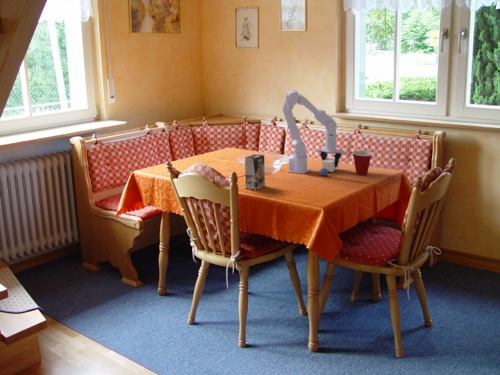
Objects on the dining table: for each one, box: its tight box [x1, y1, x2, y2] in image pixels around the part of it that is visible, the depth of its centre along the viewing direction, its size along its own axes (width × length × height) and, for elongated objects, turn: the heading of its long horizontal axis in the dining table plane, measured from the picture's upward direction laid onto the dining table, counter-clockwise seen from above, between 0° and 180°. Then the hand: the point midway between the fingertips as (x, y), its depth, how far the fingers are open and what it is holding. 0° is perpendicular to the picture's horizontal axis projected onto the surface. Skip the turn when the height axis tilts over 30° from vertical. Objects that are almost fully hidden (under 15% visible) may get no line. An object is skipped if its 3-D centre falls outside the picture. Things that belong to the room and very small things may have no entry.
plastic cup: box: [351, 150, 374, 176], centre depth 330 cm, size 11×11×12 cm
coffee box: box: [244, 153, 266, 191], centre depth 311 cm, size 9×6×16 cm
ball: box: [319, 167, 328, 177], centre depth 330 cm, size 4×4×4 cm
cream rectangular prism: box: [322, 156, 340, 173], centre depth 339 cm, size 6×10×5 cm, turn 153°
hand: (330, 166), depth 339 cm, fingers closed on cream rectangular prism, 6 cm apart
